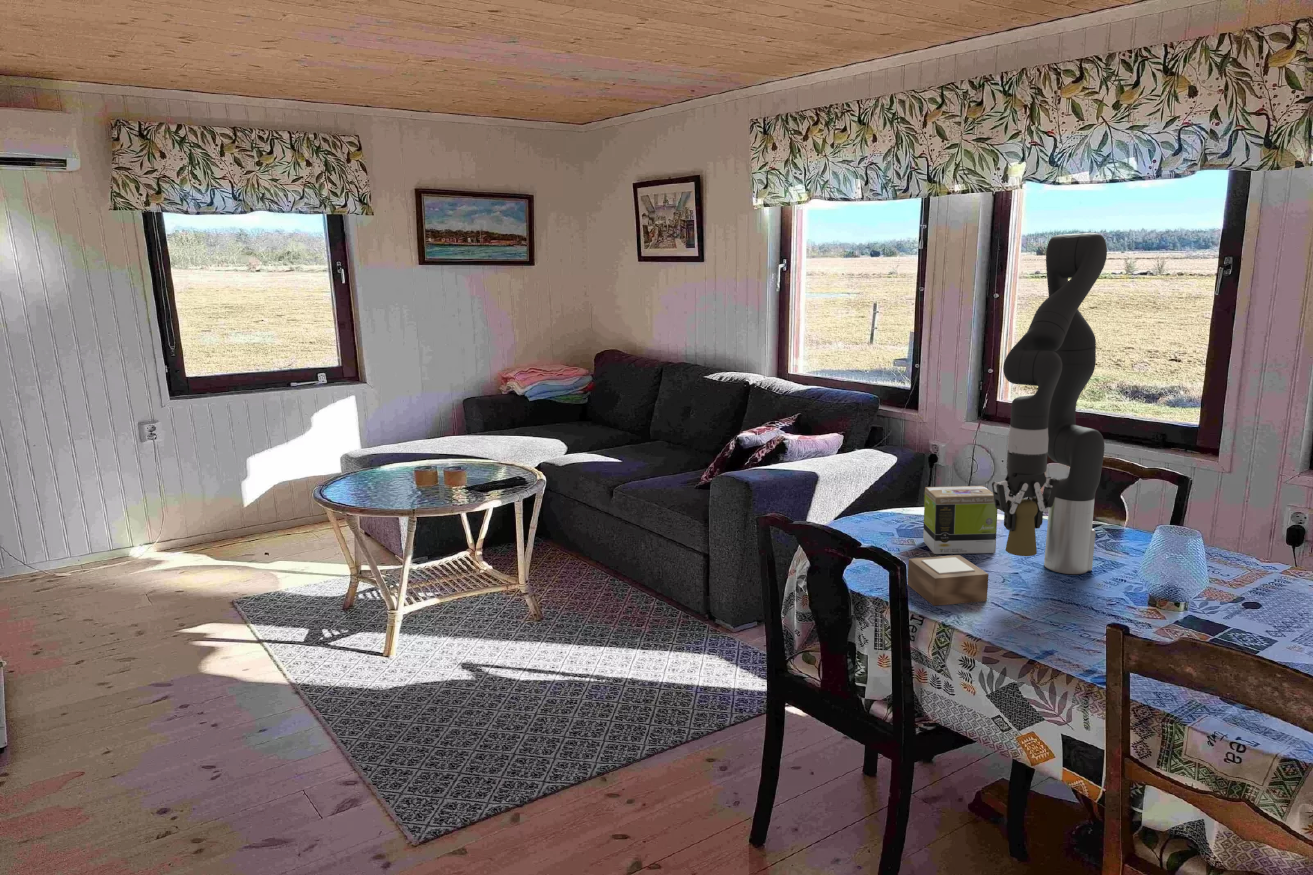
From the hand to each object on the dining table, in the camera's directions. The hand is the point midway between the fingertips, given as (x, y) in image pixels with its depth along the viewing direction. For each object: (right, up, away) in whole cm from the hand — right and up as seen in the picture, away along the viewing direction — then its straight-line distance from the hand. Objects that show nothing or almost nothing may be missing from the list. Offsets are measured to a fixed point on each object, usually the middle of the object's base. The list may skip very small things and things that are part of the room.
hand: (1022, 528), depth 180 cm
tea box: (-1, -9, +36) cm, 37 cm away
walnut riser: (-13, -15, +8) cm, 21 cm away
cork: (0, -5, +1) cm, 5 cm away
